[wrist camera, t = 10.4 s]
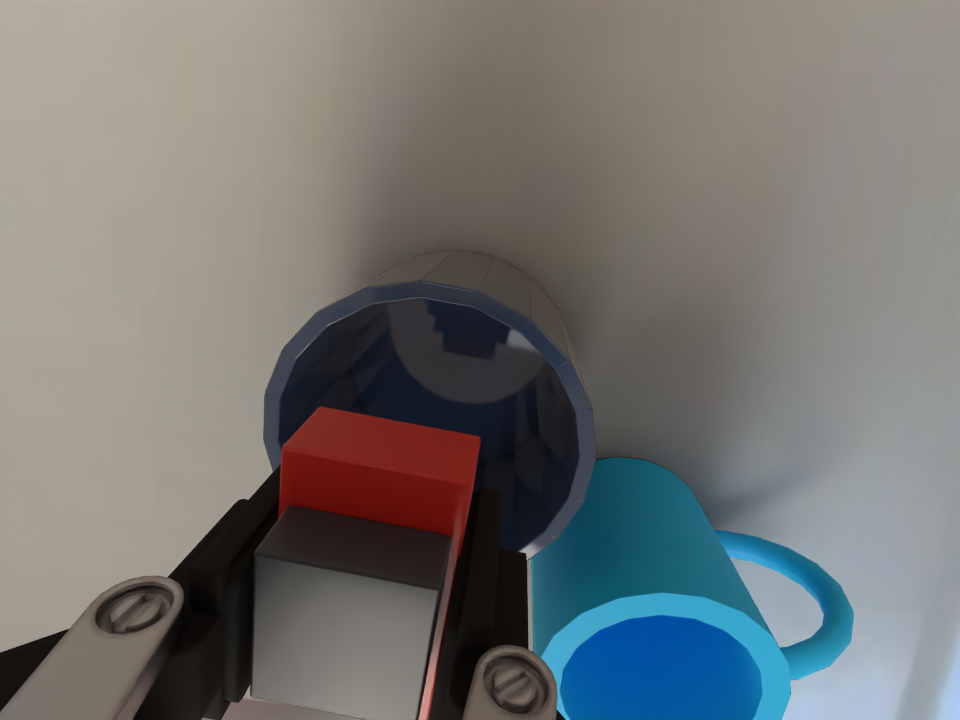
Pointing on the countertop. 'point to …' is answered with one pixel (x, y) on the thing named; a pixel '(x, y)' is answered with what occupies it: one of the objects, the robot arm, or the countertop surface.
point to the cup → (454, 379)
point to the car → (360, 565)
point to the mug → (668, 608)
